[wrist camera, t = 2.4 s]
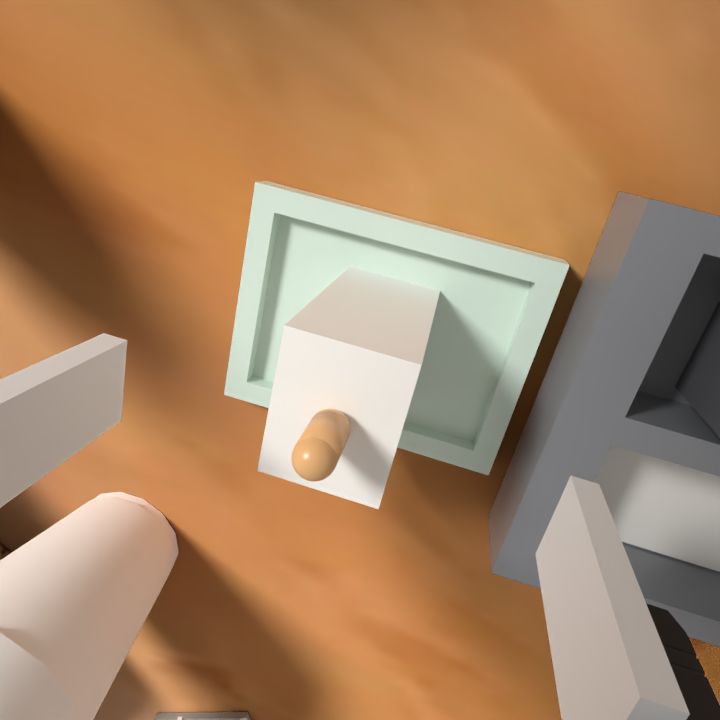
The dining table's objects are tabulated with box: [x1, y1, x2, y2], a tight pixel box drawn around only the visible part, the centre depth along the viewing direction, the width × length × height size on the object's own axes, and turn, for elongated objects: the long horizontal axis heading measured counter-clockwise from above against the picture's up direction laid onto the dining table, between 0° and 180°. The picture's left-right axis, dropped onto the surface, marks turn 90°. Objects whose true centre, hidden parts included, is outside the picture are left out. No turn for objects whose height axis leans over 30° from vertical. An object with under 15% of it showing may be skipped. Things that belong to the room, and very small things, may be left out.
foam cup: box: [0, 492, 179, 720], centre depth 26 cm, size 10×9×13 cm
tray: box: [224, 181, 570, 476], centre depth 24 cm, size 10×13×1 cm
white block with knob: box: [257, 266, 440, 509], centre depth 19 cm, size 5×4×12 cm
